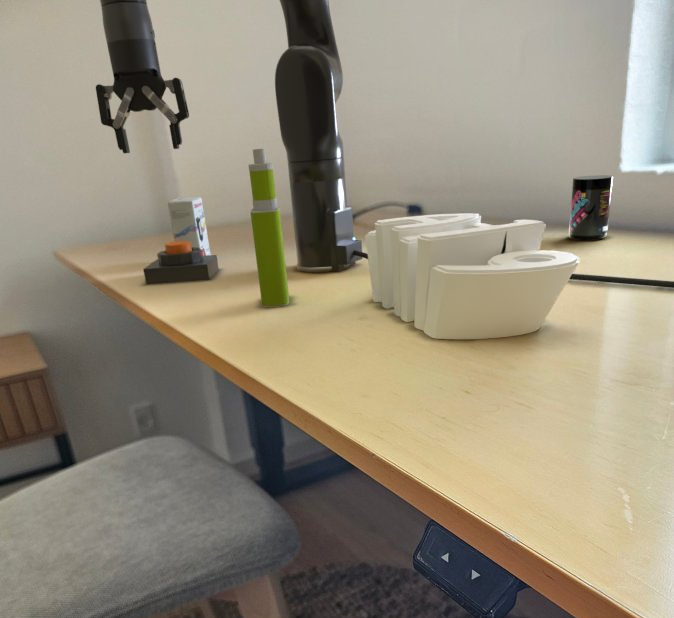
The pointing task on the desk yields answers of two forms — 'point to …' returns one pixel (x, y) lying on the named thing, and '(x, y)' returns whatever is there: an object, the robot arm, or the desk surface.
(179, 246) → the power button
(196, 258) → the push button base
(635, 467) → the desk surface
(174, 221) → the ink box
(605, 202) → the supplement container
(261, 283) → the vape
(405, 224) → the white wavy slab sculpture
